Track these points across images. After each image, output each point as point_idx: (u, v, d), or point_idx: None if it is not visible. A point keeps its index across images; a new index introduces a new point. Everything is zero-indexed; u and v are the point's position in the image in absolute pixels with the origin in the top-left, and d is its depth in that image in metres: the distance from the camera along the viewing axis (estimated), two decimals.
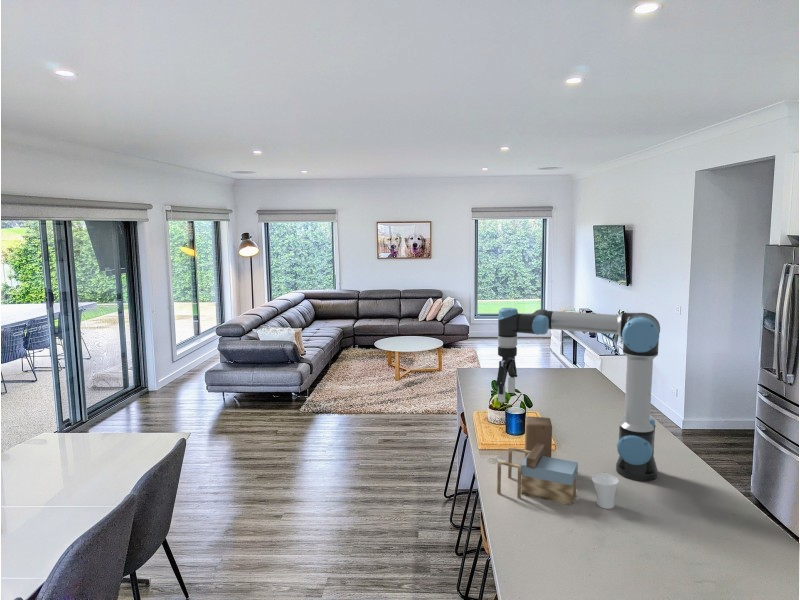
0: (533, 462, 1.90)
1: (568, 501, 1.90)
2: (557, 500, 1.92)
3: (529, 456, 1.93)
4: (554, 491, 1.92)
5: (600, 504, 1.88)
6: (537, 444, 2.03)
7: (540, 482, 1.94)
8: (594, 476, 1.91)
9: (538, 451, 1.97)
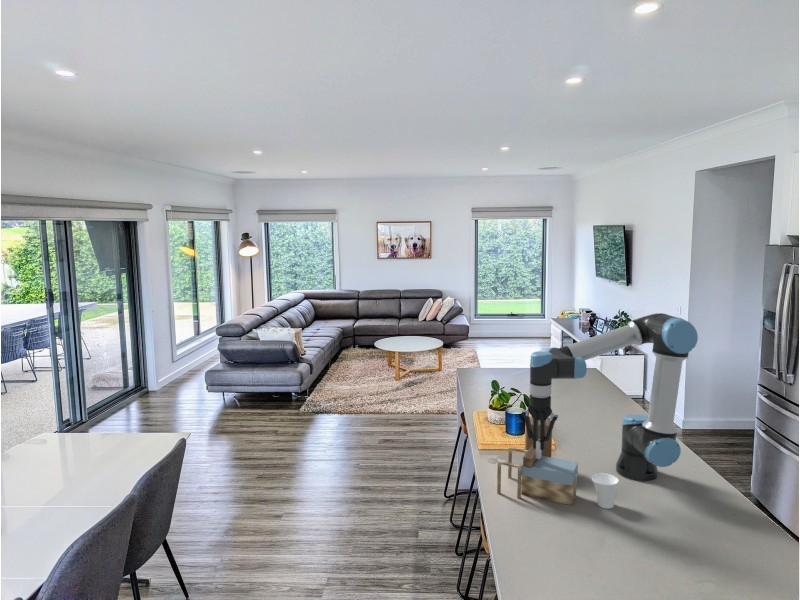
0: (530, 461, 1.91)
1: (568, 501, 1.90)
2: (557, 500, 1.92)
3: (526, 455, 1.93)
4: (554, 491, 1.92)
5: (600, 504, 1.88)
6: None
7: (540, 482, 1.94)
8: (594, 476, 1.91)
9: (535, 450, 1.97)
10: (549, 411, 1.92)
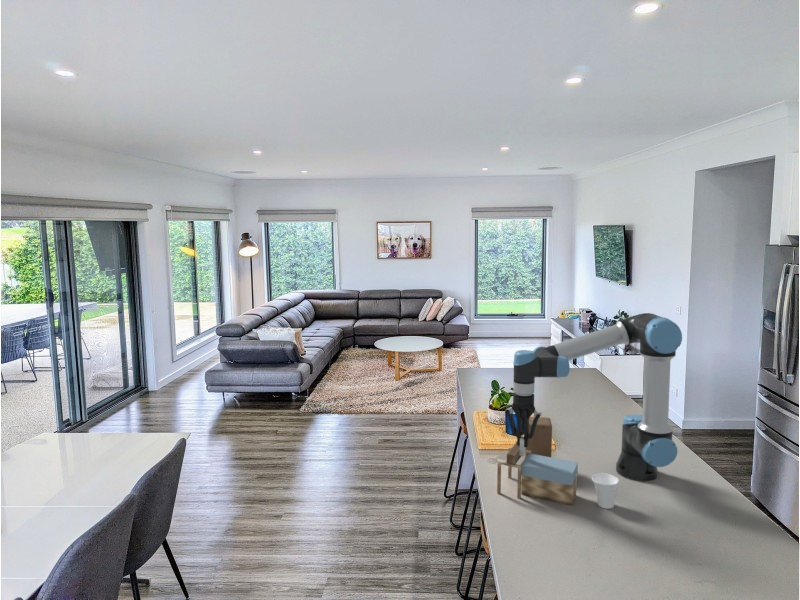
0: (513, 458, 1.94)
1: (568, 501, 1.90)
2: (557, 500, 1.92)
3: (509, 452, 1.96)
4: (554, 491, 1.92)
5: (600, 504, 1.88)
6: None
7: (540, 482, 1.94)
8: (594, 476, 1.91)
9: (519, 448, 2.00)
10: (532, 409, 1.95)
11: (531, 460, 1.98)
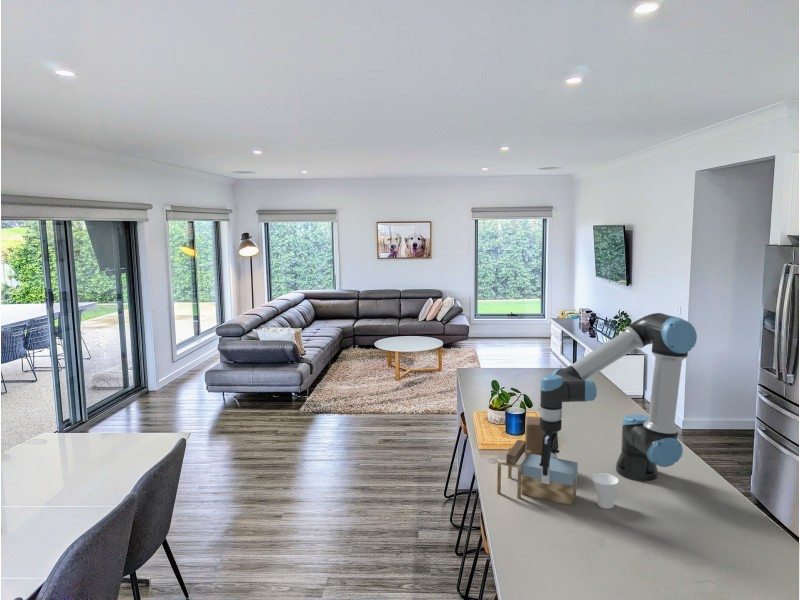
0: (513, 458, 1.94)
1: (568, 501, 1.90)
2: (557, 500, 1.92)
3: (509, 452, 1.96)
4: (554, 491, 1.92)
5: (600, 504, 1.88)
6: (518, 441, 2.06)
7: (540, 482, 1.94)
8: (594, 476, 1.91)
9: (518, 447, 2.00)
10: None
11: (531, 460, 1.98)
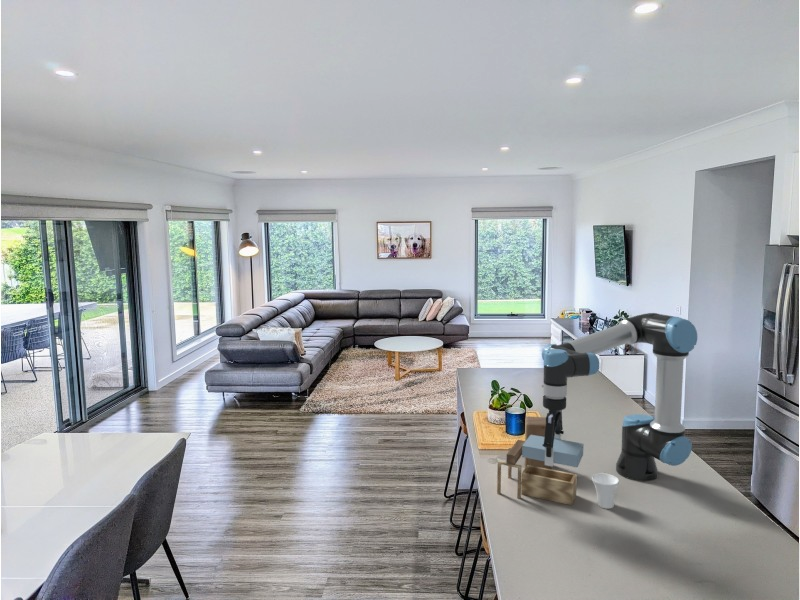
0: (513, 458, 1.94)
1: (568, 501, 1.90)
2: (557, 500, 1.92)
3: (509, 452, 1.96)
4: (554, 491, 1.92)
5: (600, 504, 1.88)
6: (518, 441, 2.06)
7: (540, 482, 1.94)
8: (594, 476, 1.91)
9: (518, 447, 2.00)
10: None
11: (534, 442, 1.85)
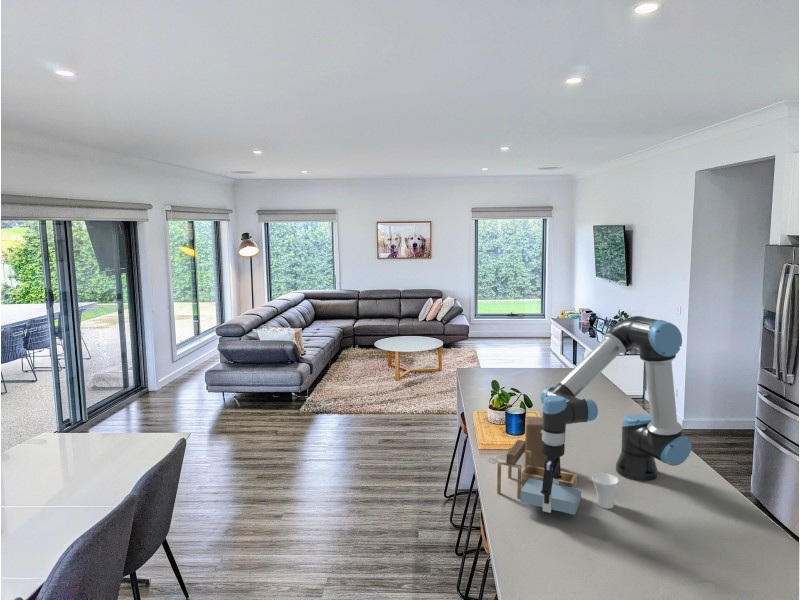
0: (513, 458, 1.94)
1: None
2: None
3: (509, 452, 1.96)
4: None
5: (600, 504, 1.88)
6: (518, 441, 2.06)
7: None
8: (594, 476, 1.91)
9: (518, 447, 2.00)
10: None
11: (532, 486, 1.86)
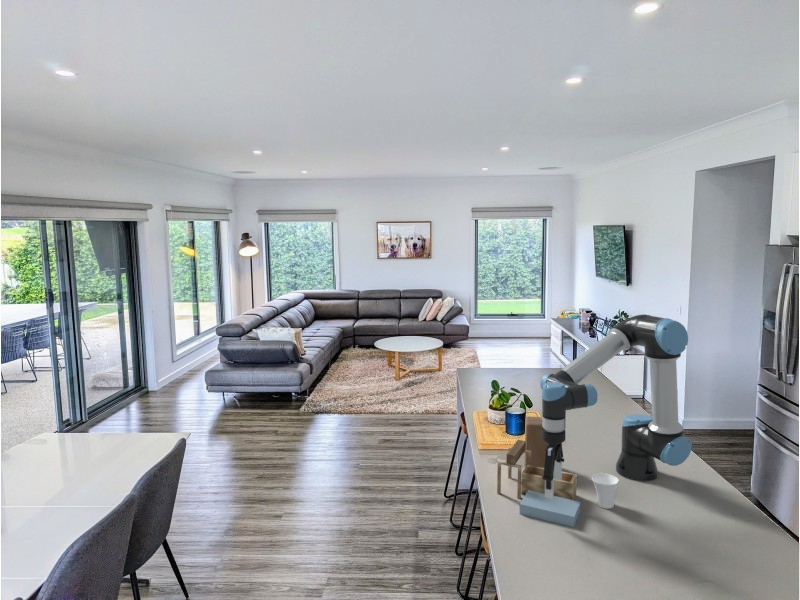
0: (513, 458, 1.94)
1: None
2: None
3: (509, 452, 1.96)
4: (554, 491, 1.92)
5: (600, 504, 1.88)
6: (518, 441, 2.06)
7: (540, 482, 1.94)
8: (594, 476, 1.91)
9: (518, 447, 2.00)
10: None
11: (531, 499, 1.87)
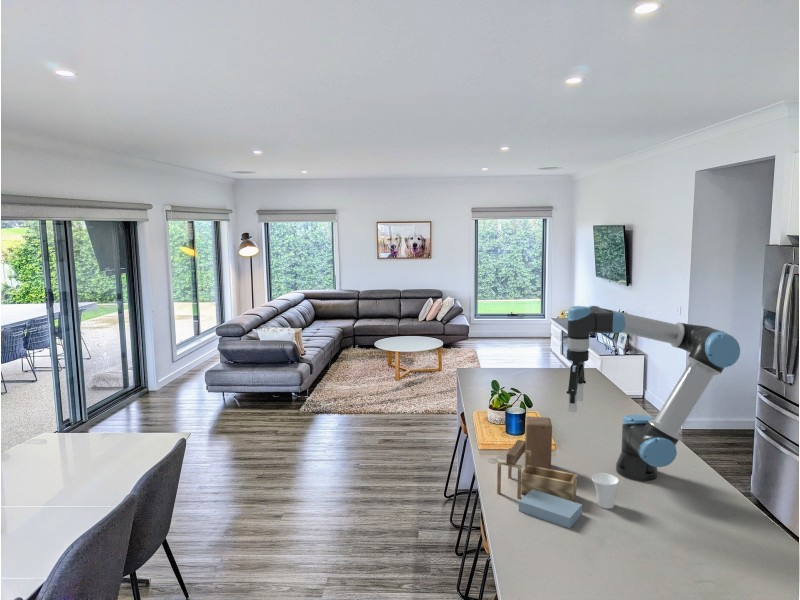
0: (513, 458, 1.94)
1: None
2: None
3: (509, 452, 1.96)
4: (554, 491, 1.92)
5: (600, 504, 1.88)
6: (518, 441, 2.06)
7: (540, 482, 1.94)
8: (594, 476, 1.91)
9: (518, 447, 2.00)
10: None
11: (532, 498, 1.88)
